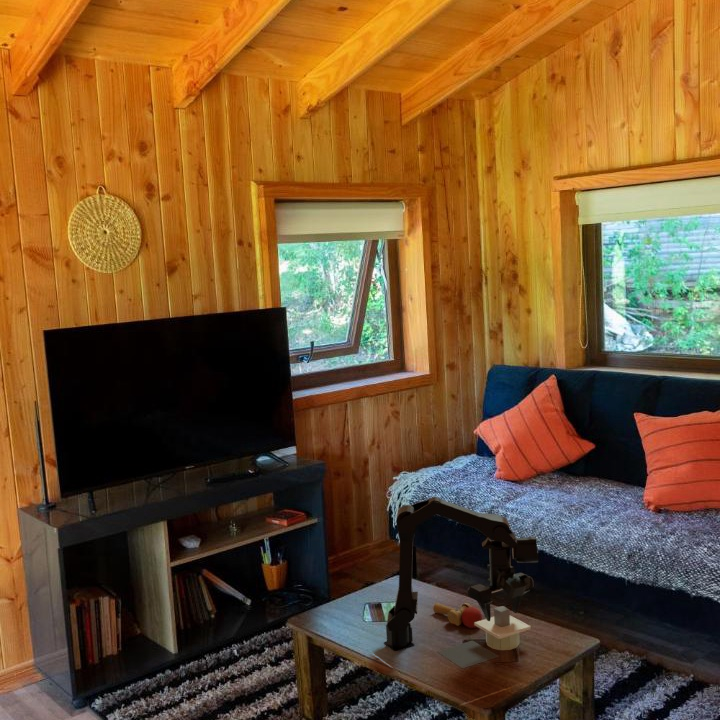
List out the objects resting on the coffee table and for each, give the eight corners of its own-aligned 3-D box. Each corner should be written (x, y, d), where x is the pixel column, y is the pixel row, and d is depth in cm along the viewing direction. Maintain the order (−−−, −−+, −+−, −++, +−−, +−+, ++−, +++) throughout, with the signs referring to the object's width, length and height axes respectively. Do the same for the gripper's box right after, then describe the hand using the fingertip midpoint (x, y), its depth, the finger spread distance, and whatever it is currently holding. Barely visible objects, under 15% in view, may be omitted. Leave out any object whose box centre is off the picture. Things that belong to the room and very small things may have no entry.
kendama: (426, 621, 272) (469, 631, 258) (426, 600, 273) (468, 608, 259) (445, 618, 277) (488, 627, 263) (445, 597, 278) (487, 605, 264)
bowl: (500, 654, 245) (499, 636, 245) (480, 642, 253) (479, 625, 252) (526, 645, 250) (525, 628, 249) (505, 634, 257) (505, 617, 257)
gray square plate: (462, 669, 238) (462, 668, 238) (437, 653, 248) (436, 651, 248) (499, 657, 243) (498, 656, 243) (472, 641, 254) (472, 640, 254)
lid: (498, 639, 243) (498, 620, 243) (474, 625, 253) (473, 607, 252) (530, 628, 248) (530, 610, 248) (505, 615, 258) (505, 597, 257)
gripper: (490, 578, 237) (492, 635, 239) (545, 563, 246) (547, 618, 248) (465, 566, 247) (467, 621, 249) (519, 552, 255) (521, 605, 257)
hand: (501, 616), depth 250 cm, fingers open, 9 cm apart
